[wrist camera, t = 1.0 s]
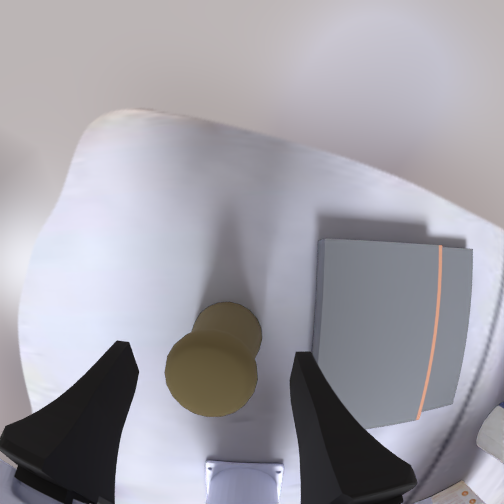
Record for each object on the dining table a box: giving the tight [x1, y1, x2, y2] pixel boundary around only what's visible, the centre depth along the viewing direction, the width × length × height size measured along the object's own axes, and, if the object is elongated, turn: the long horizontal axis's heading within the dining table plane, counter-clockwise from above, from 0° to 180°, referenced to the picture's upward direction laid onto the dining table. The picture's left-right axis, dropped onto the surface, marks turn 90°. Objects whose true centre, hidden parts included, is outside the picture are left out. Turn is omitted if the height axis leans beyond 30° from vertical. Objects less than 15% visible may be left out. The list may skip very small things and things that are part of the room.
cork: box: [165, 302, 262, 417], centre depth 19 cm, size 6×6×11 cm
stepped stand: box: [312, 238, 473, 429], centre depth 23 cm, size 17×17×3 cm
